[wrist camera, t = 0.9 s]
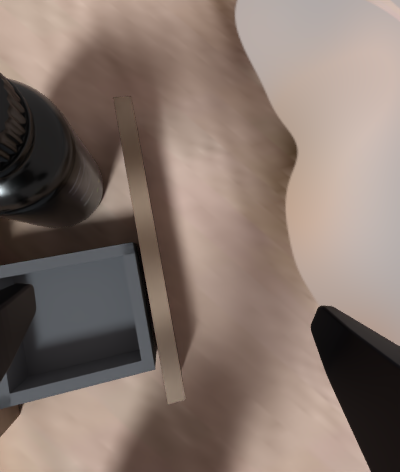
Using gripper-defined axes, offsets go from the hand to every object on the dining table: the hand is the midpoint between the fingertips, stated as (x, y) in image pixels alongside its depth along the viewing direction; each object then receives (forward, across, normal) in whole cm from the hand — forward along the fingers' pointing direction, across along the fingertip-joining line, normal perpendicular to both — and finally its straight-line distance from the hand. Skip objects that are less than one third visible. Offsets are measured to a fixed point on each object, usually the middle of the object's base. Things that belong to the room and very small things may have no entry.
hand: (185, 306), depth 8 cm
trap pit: (+10, +7, +10) cm, 15 cm away
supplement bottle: (+15, +9, +1) cm, 18 cm away
